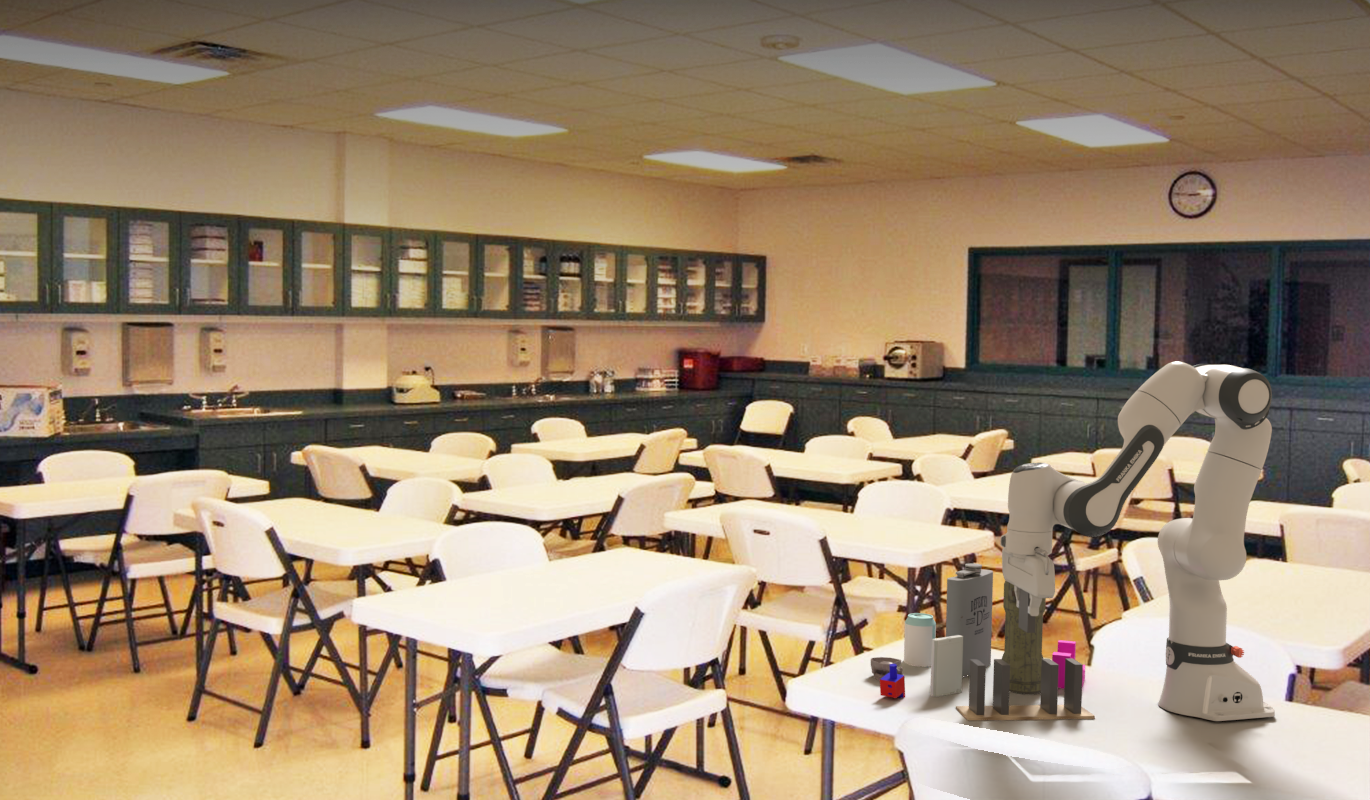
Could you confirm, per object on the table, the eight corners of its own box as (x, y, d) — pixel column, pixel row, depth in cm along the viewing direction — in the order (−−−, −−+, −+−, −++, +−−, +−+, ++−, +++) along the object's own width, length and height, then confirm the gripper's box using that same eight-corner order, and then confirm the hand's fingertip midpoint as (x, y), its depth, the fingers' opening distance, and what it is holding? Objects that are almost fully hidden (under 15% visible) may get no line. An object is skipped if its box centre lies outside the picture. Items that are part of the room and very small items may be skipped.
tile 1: (976, 708, 264) (977, 659, 263) (984, 715, 259) (985, 665, 258) (968, 708, 264) (969, 659, 263) (976, 715, 259) (977, 665, 258)
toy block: (1081, 691, 281) (1082, 657, 280) (1051, 688, 283) (1052, 654, 282) (1086, 675, 294) (1087, 642, 294) (1057, 672, 297) (1058, 640, 296)
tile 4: (1047, 707, 265) (1049, 658, 265) (1057, 714, 260) (1058, 664, 260) (1040, 707, 265) (1041, 658, 265) (1049, 714, 260) (1050, 664, 260)
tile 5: (1071, 706, 266) (1072, 658, 265) (1081, 713, 261) (1082, 664, 260) (1063, 706, 266) (1065, 658, 265) (1073, 713, 261) (1074, 664, 260)
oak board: (1078, 707, 268) (1078, 704, 267) (1094, 718, 260) (1094, 715, 260) (955, 709, 265) (955, 706, 265) (968, 720, 257) (968, 717, 257)
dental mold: (884, 676, 290) (885, 654, 290) (910, 682, 285) (910, 660, 285) (862, 682, 285) (862, 660, 284) (887, 689, 280) (888, 666, 280)
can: (898, 667, 299) (899, 615, 298) (913, 661, 304) (914, 610, 303) (925, 672, 294) (926, 620, 293) (940, 666, 299) (941, 615, 299)
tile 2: (1000, 707, 264) (1001, 659, 264) (1008, 714, 259) (1010, 665, 259) (992, 707, 264) (993, 659, 264) (1000, 714, 259) (1002, 665, 259)
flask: (961, 682, 286) (964, 569, 285) (942, 678, 289) (945, 567, 288) (996, 667, 299) (999, 560, 298) (977, 664, 302) (980, 557, 301)
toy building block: (880, 703, 270) (879, 666, 269) (889, 696, 274) (888, 659, 272) (896, 706, 268) (894, 669, 267) (905, 698, 271) (903, 662, 270)
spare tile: (1026, 627, 264) (1027, 578, 264) (1035, 632, 259) (1036, 583, 259) (1018, 627, 264) (1019, 578, 263) (1027, 632, 259) (1028, 583, 258)
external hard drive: (962, 693, 277) (964, 636, 276) (934, 699, 272) (936, 640, 271) (957, 692, 278) (958, 634, 277) (929, 697, 273) (930, 639, 273)
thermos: (1051, 687, 283) (1056, 527, 281) (1031, 698, 273) (1036, 533, 272) (1012, 680, 288) (1017, 523, 287) (992, 691, 279) (996, 529, 277)
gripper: (1064, 552, 251) (1062, 623, 251) (1026, 536, 271) (1024, 601, 272) (1032, 552, 250) (1030, 623, 251) (997, 536, 270) (995, 601, 271)
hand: (1027, 612), depth 261 cm, fingers closed on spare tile, 5 cm apart
